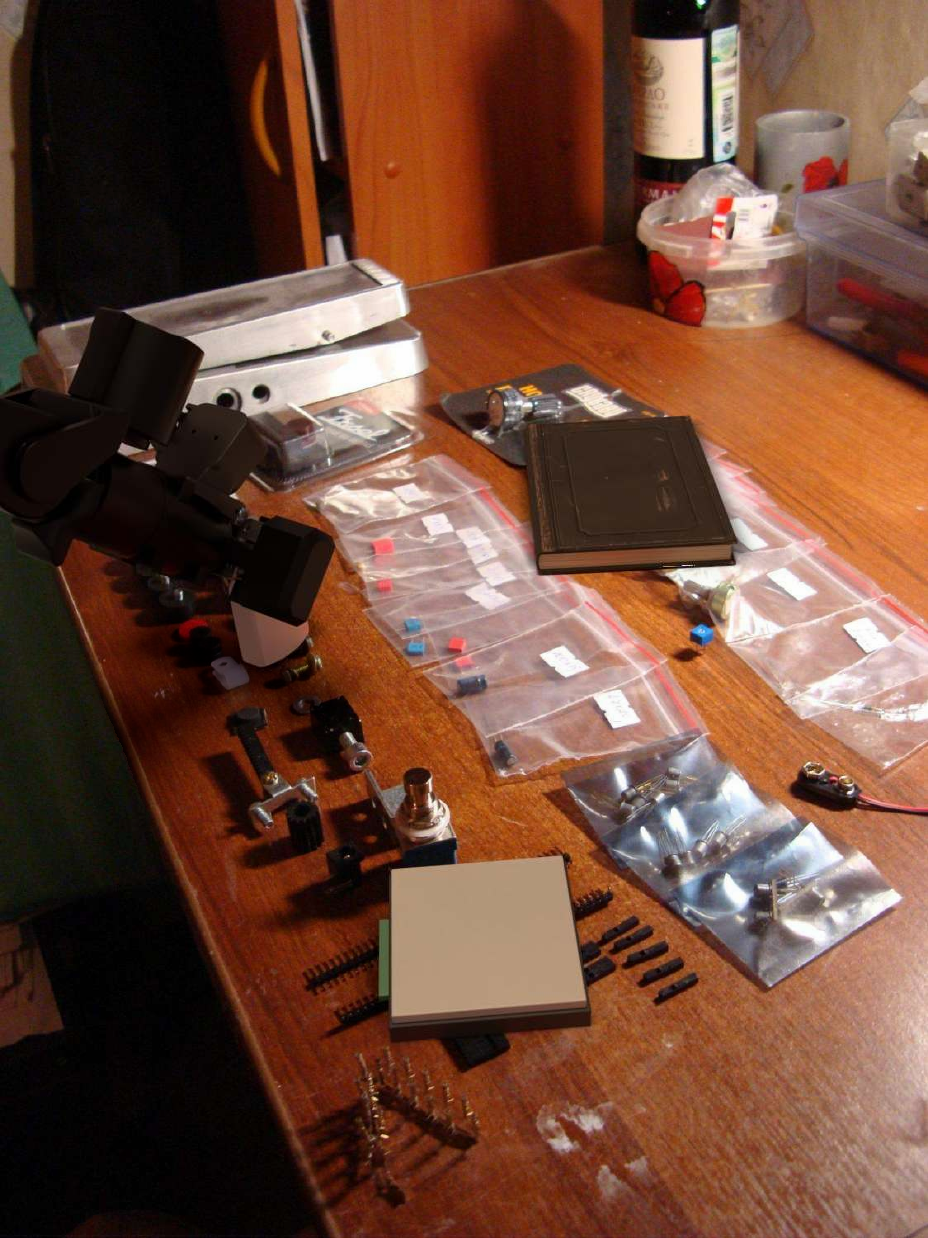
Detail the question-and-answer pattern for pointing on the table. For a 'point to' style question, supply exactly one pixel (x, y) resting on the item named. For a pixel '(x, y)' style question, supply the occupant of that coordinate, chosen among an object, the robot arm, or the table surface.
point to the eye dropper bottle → (264, 634)
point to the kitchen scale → (481, 950)
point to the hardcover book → (623, 496)
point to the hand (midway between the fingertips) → (277, 574)
